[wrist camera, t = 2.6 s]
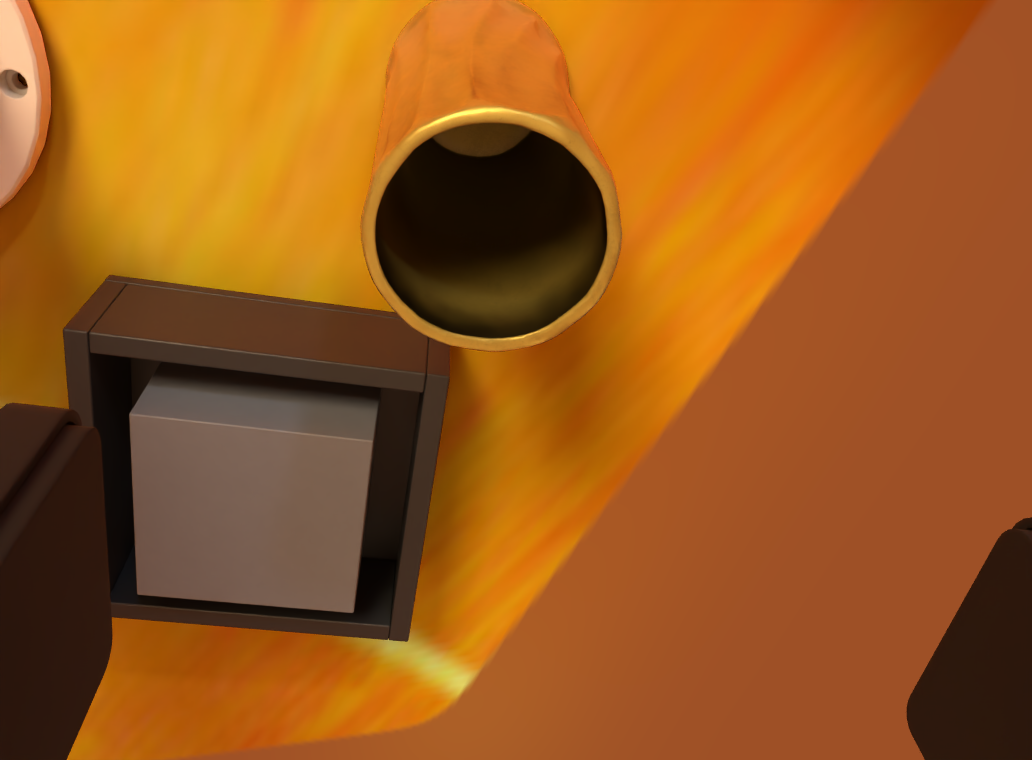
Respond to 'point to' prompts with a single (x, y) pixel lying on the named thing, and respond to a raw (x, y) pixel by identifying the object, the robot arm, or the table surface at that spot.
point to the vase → (487, 183)
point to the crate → (275, 351)
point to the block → (251, 487)
